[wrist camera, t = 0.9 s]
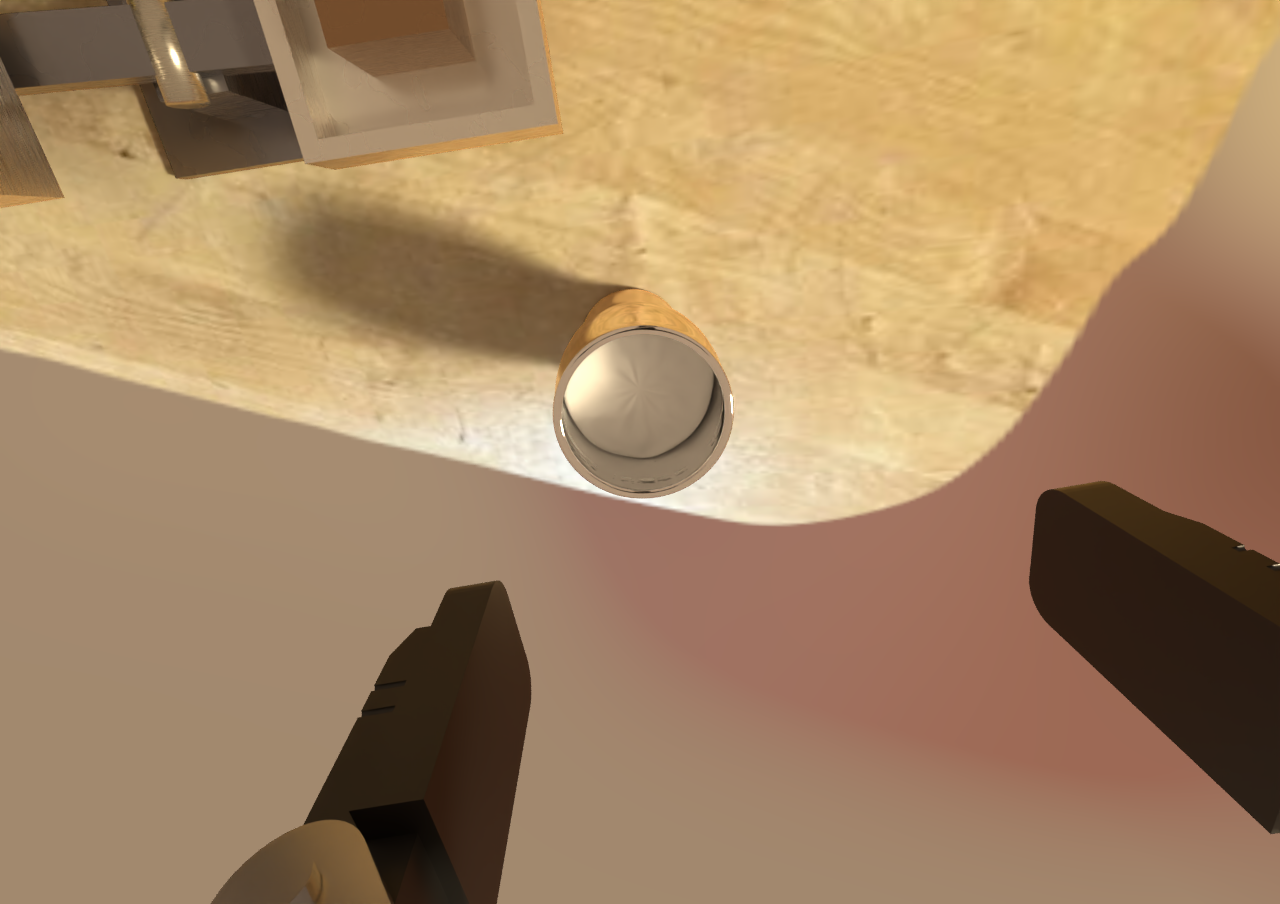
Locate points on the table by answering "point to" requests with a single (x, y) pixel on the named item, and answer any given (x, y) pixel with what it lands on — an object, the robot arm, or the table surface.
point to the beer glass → (641, 398)
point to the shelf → (285, 80)
